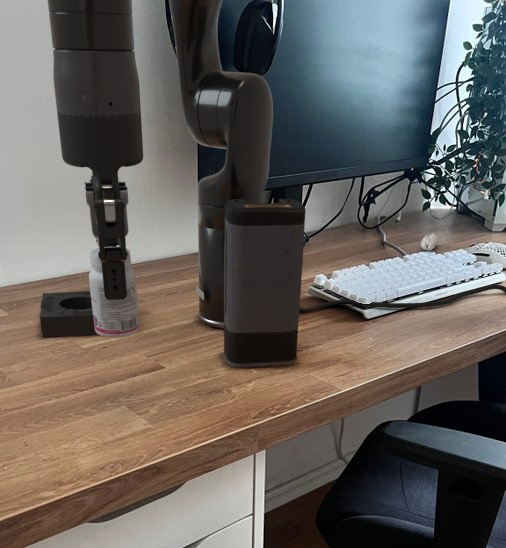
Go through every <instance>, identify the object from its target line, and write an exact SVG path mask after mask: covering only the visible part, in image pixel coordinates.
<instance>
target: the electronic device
mask: <svg viewBox="0 0 506 548" xmlns="http://www.w3.org/2000/svg"><path fill="white" fill-rule="evenodd" d="M306 210H307V209H306V208H305V206H304V205H303V204H302V203H300V202H299V201H298V200H296V199H288V198H279V199H278V202H263V203H246V202H245V201H244V200H243V199H234V200H229V201H228V202H227V203H226V204H225V246H224V329H223V355H224V358H225V361H226V363H227V364H228V365H229V366H231V367H233V368H236V369H237V368H239V369H240V368H241V369H242V368H264V367H265V368H267V367H286V366H291V365H293V364H294V363H296V362H297V354H298V353H297V352H298V338H299V322H300V319H299V318H300V313H299V308H301V293H302V280H303V279H302V278H303V277H302V275H303V263H304V243H305V227H306Z"/></svg>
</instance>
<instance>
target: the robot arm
mask: <svg viewBox="0 0 506 548" xmlns="http://www.w3.org/2000/svg"><path fill="white" fill-rule="evenodd" d="M132 1H133V0H47V8H48V16H49V27H50V35H51V45H52V48H53V50H52V56H53V70H52V71H53V72H52V73H53V75H52V76H53V90H54V98H55V106H56V115H57V116H56V117H57V124H58V134H59V141H60V142H59V143H60V149H61V150H60V151H61V158H62V160H63V162H64V163H65V164H66V165H68V166H72V167H76V168H88V169H89V170H91V175H90V179H89V181H87V182H84V183H83V184H84V193H85V199H86V205H87V206H86V207H88V208H89V217H90V218H89V219H90V224H91V233H92V236H93V237H94V238H95V243H96V244H97V247H98V248H99V252H98V258H99V259H100V262H101V263H102V274H103V285H104V295H105V298H106V299H107V300H121V299H125V298H126V297H127V287H126V274H125V262H126V260H127V256H128V251H126V249H127V242H126V241H127V240H126V237H127V236H128V234H129V230H130V229H129V219H128V210H127V207H128V204H129V191H128V190H129V189H128V186H126V185H127V183H126V181H119V180H120V179H119V170H120V169H121V168H123V167H124V168H130V167H133V166H137V165H139V164H141V163H142V162H143V161H144V160H143V159H144V141H143V124H142V110H141V93H140V91H141V90H140V89H141V88H140V79H139V72H138V68H137V67H138V66H137V61H136V52H135V37H134V22H133V21H134V20H133V19H134V18H133V4H132V3H133V2H132ZM223 2H224V0H168V3H169V10H170V15H171V21H172V28H173V33H174V35H173V36H174V42H175V53H176V62H177V71H178V72H177V73H178V80H179V82H178V83H179V90H180V98H181V99H180V100H181V106H182V107H181V108H182V112H183V118H184V122H185V125H186V127H187V130H188V133H189V135H190V136H191V138H192V139H193V141H195V142H196V143H197V144H199V145H201V146H204V147H207V148H214V149H221V150H223V149H224V150H226V153H225V162H224V166H223V167H222V169H221V170H220V171H218V172H216V173H214V174H211V175H206V176H204V177H203V178H201V179H200V180H199V181H198V184H197V223H198V224H197V229H198V231H197V235H198V236H197V237H198V239H197V240H198V245H197V247H198V286H197V285H195V293H196V294H197V295H198V320H199V322H200V323H202V324H204V325H206V326H209V327H211V328H217V329H223V330H224V246H225V204H226V203H227V202H228V201H229V200H234V199H243V200H244V201H245V202H246V203H264V196H265V190H266V186H267V183H268V179H269V172H270V159H271V150H272V149H271V147H272V139H273V138H272V136H273V125H274V104H273V103H274V102H273V95H272V91H271V88H270V86H269V83H268V82H267V80H266V79H265V78H264V77H263V76H261V75H260V74H257V73H252V72H240V71H239V72H238V71H224V70H223V68H222V64H221V57H220V50H219V39H218V37H219V36H218V24H219V18H220V11H221V8H222V4H223ZM105 247H107V248H105ZM490 290H499V291H502V292H504V293H505V294H506V286H505V285H502V284H488V285H485V286H481V287H477V288H475V289H471V290H466V291H462V292H459V293H457V294H455V295H452V296H450V297H449V298H445V299H441V300H434V301H425V302H380V301H371V302H372V303H370V304H362V303H358V302H356V301H354V300H355V299H336V300H331V301H327V302H324V303H321V304H319V305H317V306H313V307H310V308H304V307H300V308H299V314H309V313H312V312H316V311H320V310H324V309H326V308H330V307H333V306H334V307H335V306H346V305H347V306H362V307H371V308H382V309H419V308H420V309H421V308H430V307H431V308H433V307H438V306H444V305H447V304H451V303H453V302H456V301H457V300H459V299H462V298H464V297H468V296H472V295H477V294H479V293H484V292H486V291H487V292H488V291H490Z"/></svg>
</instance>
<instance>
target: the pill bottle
mask: <svg viewBox="0 0 506 548" xmlns="http://www.w3.org/2000/svg"><path fill="white" fill-rule="evenodd" d="M105 248H107V247H105ZM126 251H128V256H127V260H126V262H125V274H126V287H127V297H126V298H125V299H121V300H107V299H106V298H105V295H104V285H103V274H102V263H101V262H100V259H99V258H98V252H99V247H98V248H94V249H92V250H91V251H90V252H89V258H90V265H91V268H92V269H91V270H90V271H89V274H88V282H89V284H88V285H89V291H90V293H91V302H92V310H93V319H94V327H95V331H96V333H97V334H96V335H98V336H101V337H105V338H111V339H112V338H114V339H118V338H120V339H121V338H127V337H130V336H133V335H135V334H136V333H137V332H138V331H140V327H141V326H140V317H139V316H140V315H139V304H138V302H139V301H138V290H137V288H138V287H137V275H136V271H135V270H134V269H133V268H132V267H131V266H132V259H131V251H130V249H128V248H126Z"/></svg>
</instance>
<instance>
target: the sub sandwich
mask: <svg viewBox="0 0 506 548" xmlns="http://www.w3.org/2000/svg"><path fill="white" fill-rule="evenodd" d="M438 242H439V236H438V235H437V234H435V233H431V234H428V235H425V236H424V237H423V238H422V240H421V242H420V248H421V249H422V250H424V251H432V250H433V249H435V248H436V247H437V245H438Z"/></svg>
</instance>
